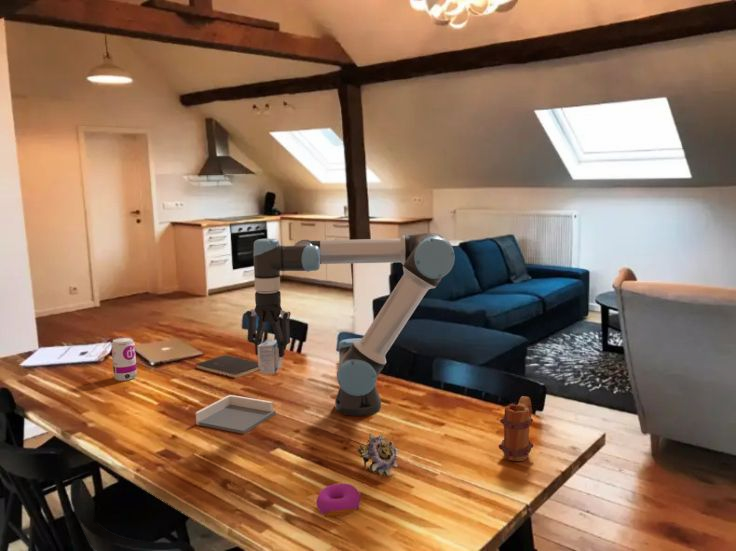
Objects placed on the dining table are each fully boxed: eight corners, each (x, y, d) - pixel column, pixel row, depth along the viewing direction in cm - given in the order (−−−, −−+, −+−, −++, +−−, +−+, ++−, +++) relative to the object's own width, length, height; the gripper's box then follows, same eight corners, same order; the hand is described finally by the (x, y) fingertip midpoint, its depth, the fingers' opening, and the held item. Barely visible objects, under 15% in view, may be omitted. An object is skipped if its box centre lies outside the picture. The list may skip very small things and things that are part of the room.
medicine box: (274, 374, 189) (273, 346, 188) (259, 374, 190) (259, 346, 188) (280, 366, 197) (279, 339, 196) (266, 366, 197) (265, 339, 196)
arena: (275, 414, 205) (275, 402, 204) (244, 433, 190) (243, 421, 189) (230, 406, 213) (229, 394, 212) (196, 424, 198) (195, 412, 197)
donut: (322, 496, 153) (321, 478, 152) (363, 498, 152) (363, 480, 151) (312, 519, 143) (312, 500, 142) (357, 522, 142) (357, 503, 141)
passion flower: (387, 494, 164) (378, 472, 156) (353, 477, 169) (342, 454, 161) (409, 459, 170) (401, 435, 161) (375, 443, 175) (366, 419, 167)
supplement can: (141, 376, 245) (138, 338, 243) (123, 382, 239) (120, 344, 236) (128, 373, 250) (125, 336, 247) (109, 379, 243) (106, 341, 240)
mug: (524, 468, 165) (526, 413, 163) (495, 461, 170) (495, 407, 167) (541, 447, 178) (543, 395, 175) (513, 441, 182) (514, 390, 179)
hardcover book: (235, 379, 241) (235, 374, 241) (196, 369, 255) (195, 363, 255) (265, 368, 254) (265, 363, 254) (226, 359, 268) (226, 354, 267)
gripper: (301, 290, 190) (302, 365, 194) (246, 287, 196) (249, 360, 199) (290, 294, 183) (292, 372, 187) (234, 291, 188) (237, 367, 192)
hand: (270, 365), depth 193 cm, fingers closed on medicine box, 5 cm apart
